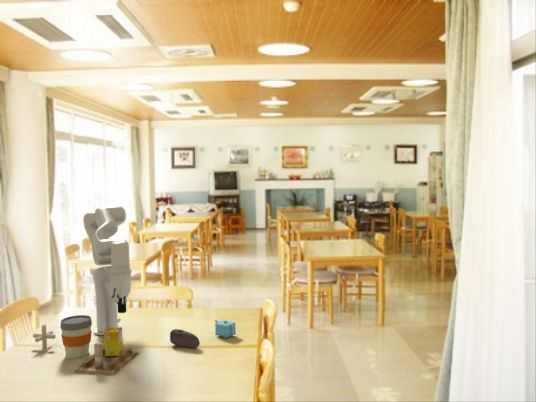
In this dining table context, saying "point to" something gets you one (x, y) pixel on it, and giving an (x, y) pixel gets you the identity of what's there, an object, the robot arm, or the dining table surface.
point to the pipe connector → (44, 336)
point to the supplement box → (113, 342)
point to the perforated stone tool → (184, 339)
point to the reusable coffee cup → (76, 335)
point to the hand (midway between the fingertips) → (122, 312)
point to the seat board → (105, 361)
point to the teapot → (225, 328)
